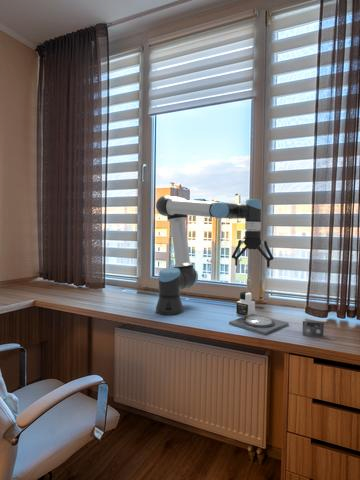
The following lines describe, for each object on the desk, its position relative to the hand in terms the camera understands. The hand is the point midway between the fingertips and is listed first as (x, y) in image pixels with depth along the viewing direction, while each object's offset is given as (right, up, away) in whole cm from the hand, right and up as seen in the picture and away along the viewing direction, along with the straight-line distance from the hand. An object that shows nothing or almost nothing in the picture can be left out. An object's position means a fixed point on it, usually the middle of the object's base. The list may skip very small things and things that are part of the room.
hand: (251, 273), depth 155 cm
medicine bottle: (-1, -24, +11) cm, 26 cm away
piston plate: (+2, -24, -6) cm, 25 cm away
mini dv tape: (+22, -25, -20) cm, 39 cm away
